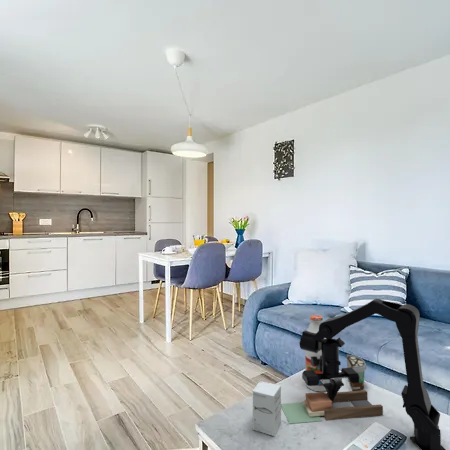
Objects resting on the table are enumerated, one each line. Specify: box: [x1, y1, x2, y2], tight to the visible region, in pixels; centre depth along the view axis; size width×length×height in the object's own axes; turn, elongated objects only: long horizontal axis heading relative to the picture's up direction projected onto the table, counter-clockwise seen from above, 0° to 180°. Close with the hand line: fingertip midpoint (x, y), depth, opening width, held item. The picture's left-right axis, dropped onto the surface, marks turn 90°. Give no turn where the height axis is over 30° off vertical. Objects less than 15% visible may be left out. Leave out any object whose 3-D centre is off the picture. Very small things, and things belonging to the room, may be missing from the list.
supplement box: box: [252, 380, 282, 437], centre depth 98 cm, size 7×7×13 cm
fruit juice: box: [304, 314, 326, 392], centre depth 122 cm, size 9×9×28 cm
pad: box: [281, 401, 323, 425], centre depth 105 cm, size 11×11×1 cm
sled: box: [301, 391, 333, 417], centre depth 106 cm, size 7×8×4 cm
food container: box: [346, 354, 367, 391], centre depth 122 cm, size 12×6×10 cm, turn 168°
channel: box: [324, 389, 384, 421], centre depth 107 cm, size 10×20×3 cm, turn 96°
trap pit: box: [350, 400, 373, 407], centre depth 107 cm, size 7×6×1 cm
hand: (331, 400), depth 106 cm, fingers closed
